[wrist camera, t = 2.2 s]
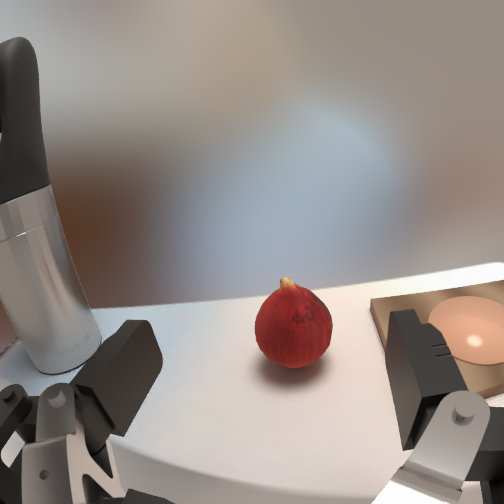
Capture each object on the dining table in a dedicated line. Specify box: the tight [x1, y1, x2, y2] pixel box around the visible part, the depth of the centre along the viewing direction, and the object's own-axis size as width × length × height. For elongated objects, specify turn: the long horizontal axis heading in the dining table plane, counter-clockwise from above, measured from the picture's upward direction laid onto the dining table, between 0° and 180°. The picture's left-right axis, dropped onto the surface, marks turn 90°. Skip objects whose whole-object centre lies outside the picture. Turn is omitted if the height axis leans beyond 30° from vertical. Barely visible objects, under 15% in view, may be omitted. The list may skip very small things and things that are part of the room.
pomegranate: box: [255, 277, 333, 368], centre depth 23 cm, size 6×6×8 cm
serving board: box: [370, 280, 504, 399], centre depth 22 cm, size 18×14×1 cm
